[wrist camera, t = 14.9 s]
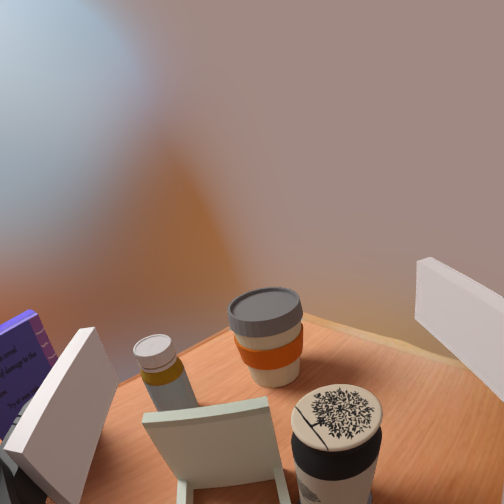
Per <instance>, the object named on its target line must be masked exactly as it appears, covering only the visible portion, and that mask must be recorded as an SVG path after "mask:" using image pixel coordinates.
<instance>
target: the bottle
mask: <svg viewBox="0 0 504 504" xmlns="http://www.w3.org/2000/svg"><path fill="white" fill-rule="evenodd" d="M133 352H134V355H135V357H136V359H137V362H138V364H139V366H140V368H141V377H142V379H143V382H144V384H145V386H146V388H147V390H148V392H149V395H150V397H151V399H152V401H153V403H154V405H155V407H156V409H157V411H158V412H162V411H173V410H182V409H190V408H198V407H199V405H198V402H197V400H196V397H195V395H194V392H193V390H192V387H191V385H190V382H189V379H188V377H187V374H186V371H185V369H184V366H183V364H182V362H181V360H180V359H179V358H178V357H177V356H176V353H175V349H174V346H173V343H172V341H171V339H170V337H168V336H166V335H162V334H158V335H152V336H148V337H146V338H144V339H142V340H140V341H139V342H138V343H136V345H135V346H134V349H133Z"/></svg>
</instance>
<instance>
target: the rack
mask: <svg viewBox="0 0 504 504" xmlns="http://www.w3.org/2000/svg"><path fill="white" fill-rule="evenodd" d="M142 424H143V426H144V428H145V429H146V431H147V433H148V434H149V436H150V438H151V439H152V441H153V443H154V444H155V446H156V448H157V449H158V451H159V452H160V454H161V455H162V457H163V458H164V460H165V462H166V463H167V465H168V466H169V468H170V469H171V470H172V472H173V473H174V475H175V476H176V478H177V479H178V485H177V502H176V504H193V491H194V489H205V488H216V487H226V486H234V485H241V484H248V483H255V482H261V481H266V480H272V479H275V481H276V486H277V491H278V496H279V501H280V504H291V502H290V497H289V493H288V489H287V485H286V480H285V476H284V472H283V467H282V463H281V458H280V454H279V450H278V445H277V441H276V436H275V432H274V427H273V423H272V418H271V413H270V409H269V404H268V400H267V396H264V397H259V398H254V399H249V400H243V401H238V402H232V403H226V404H219V405H213V406H206V407H198V408H190V409H182V410H173V411H162V412H150V413H144V415H143V419H142Z"/></svg>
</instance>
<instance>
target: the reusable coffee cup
mask: <svg viewBox="0 0 504 504" xmlns="http://www.w3.org/2000/svg"><path fill="white" fill-rule="evenodd" d="M302 316H303V311H302V306H301V302H300V299H299V296H298V294H297V293H296V292H295V291H293V290H291V289H287V288H282V287H267V288H260V289H256V290H252V291H249V292H246V293H244V294H241V295H240V296H238V297H236V298H235V299H233V300H232V301H231V302H230V304H229V305H228V318H229V326H230V328H231V330H232V331H234V334H235V335H234V340H235V343H236V345H237V348H238V350H239V352H240V355H241V357H242V360H243V361H244V363H245V364H246V365H247V366H248V368H249V371H250V373H251V375H252V378H253V380H254V381H255V382H256V383H257V384H258V385H260V386H263V387H268V388H275V387H281V386H284V385H287V384H289V383H291V382H292V381H293V380H295V379H296V377H297V376H298V374H299V370H300V355H301V353H302V349H303V325H302V323H301V318H302Z"/></svg>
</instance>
